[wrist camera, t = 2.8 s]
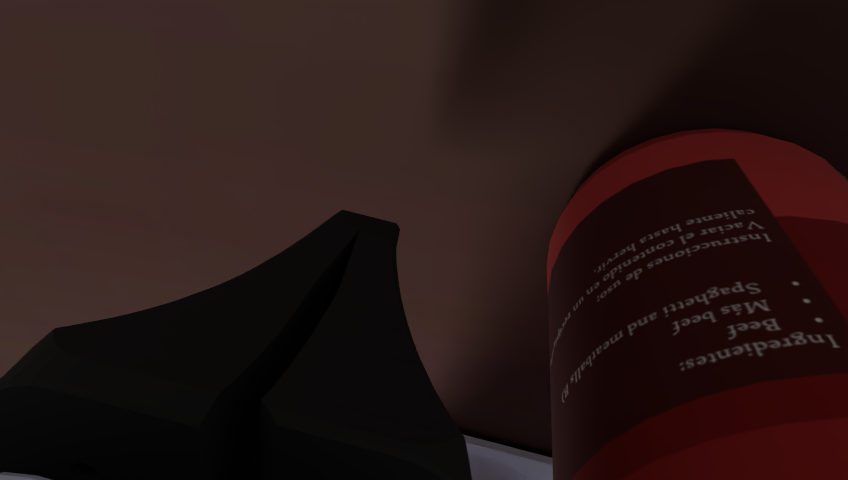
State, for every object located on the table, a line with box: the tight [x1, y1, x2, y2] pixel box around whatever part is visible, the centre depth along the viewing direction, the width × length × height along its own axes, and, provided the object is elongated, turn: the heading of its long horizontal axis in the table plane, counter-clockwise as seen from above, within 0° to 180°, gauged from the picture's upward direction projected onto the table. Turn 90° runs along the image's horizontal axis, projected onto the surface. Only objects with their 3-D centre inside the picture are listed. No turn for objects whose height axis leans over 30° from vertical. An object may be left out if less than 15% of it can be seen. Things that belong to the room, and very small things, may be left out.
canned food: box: [547, 128, 848, 480], centre depth 11 cm, size 8×8×11 cm
